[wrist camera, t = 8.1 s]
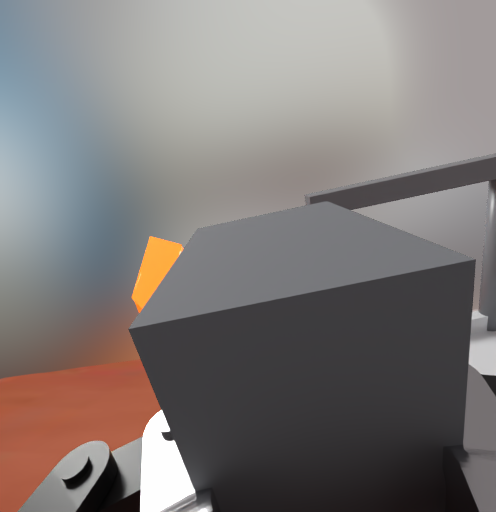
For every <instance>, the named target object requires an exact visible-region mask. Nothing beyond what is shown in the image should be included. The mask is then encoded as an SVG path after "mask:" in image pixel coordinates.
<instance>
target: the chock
mask: <svg viewBox="0 0 496 512" xmlns="http://www.w3.org/2000/svg"><path fill="white" fill-rule="evenodd" d="M475 262H476V260H475V259H473V258H471V257H468V256H466V255H463V254H461V253H458V252H456V251H453V250H451V249H448V248H446V247H443V246H440V245H438V244H435V243H433V242H430V241H428V240H425V239H423V238H420V237H417V236H415V235H412V234H410V233H407V232H405V231H402V230H399V229H397V228H394V227H392V226H389V225H387V224H384V223H381V222H379V221H377V220H374V219H371V218H369V217H366V216H364V215H361V214H359V213H356V212H353V211H351V210H349V209H346V208H343V207H341V206H338V205H336V204H333V203H331V202H328V201H325V202H320V203H316V204H311V205H306V206H302V207H297V208H292V209H287V210H283V211H279V212H273V213H269V214H264V215H260V216H255V217H250V218H245V219H241V220H237V221H232V222H227V223H222V224H217V225H213V226H208V227H203V228H198V229H197V230H196V232H195V233H194V234H193V236H192V238H191V239H190V240H189V242H188V243H187V245H186V246H185V247H184V249H183V250H182V252H181V253H180V255H179V256H178V258H177V259H176V261H175V262H174V263H173V265H172V266H171V268H170V269H169V271H168V272H167V274H166V275H165V277H164V278H163V279H162V281H161V282H160V284H159V285H158V287H157V288H156V290H155V291H154V293H153V294H152V295H151V297H150V298H149V300H148V301H147V303H146V304H145V306H144V307H143V309H142V310H141V311H140V313H139V314H138V316H137V317H136V319H135V320H134V322H133V323H132V325H131V326H130V327H129V332H130V334H131V336H132V339H133V342H134V344H135V346H136V349H137V351H138V353H139V356H140V359H141V361H142V363H143V366H144V368H145V371H146V373H147V376H148V378H149V380H150V383H151V385H152V388H153V390H154V393H155V395H156V398H157V400H158V402H159V405H160V407H161V410H162V412H163V415H164V417H165V419H166V422H167V424H168V427H169V429H170V432H171V434H172V436H173V439H174V441H175V444H176V446H177V449H178V451H179V453H180V456H181V458H182V461H183V463H184V466H185V468H186V471H187V473H188V475H189V478H190V480H191V483H192V485H193V488H194V490H195V491H199V490H203V489H207V488H211V487H212V488H213V491H214V494H215V496H216V499H217V502H218V504H219V507H220V511H221V512H445V503H446V484H445V478H444V473H443V469H442V462H443V447H444V446H454V445H462V444H463V439H464V424H465V409H466V394H467V380H468V365H469V350H470V336H471V321H472V306H473V291H474V277H475Z"/></svg>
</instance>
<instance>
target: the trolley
mask: <svg viewBox="0 0 496 512" xmlns="http://www.w3.org/2000/svg"><path fill="white" fill-rule="evenodd" d="M485 181H489V186H488V199H487V211H486V225H485V237H484V250H483V261H482V275H481V286H480V300H479V311H475V312H472V321H471V336H470V350H469V365H471V366H472V367H474V368H475V369H476V370H477V371H478V372H479V373H480V374H483V375H494V376H496V154H492V155H487V156H482V157H478V158H473V159H468V160H463V161H459V162H455V163H450V164H445V165H441V166H436V167H431V168H426V169H422V170H417V171H413V172H408V173H404V174H399V175H395V176H390V177H385V178H381V179H376V180H371V181H367V182H362V183H357V184H353V185H348V186H344V187H339V188H335V189H330V190H325V191H321V192H316V193H311V194H306V195H304V196H305V202H306V205H311V204H316V203H320V202H325V201H328V202H331V203H333V204H336V205H338V206H341V207H343V208H346V209H349V210H353V209H358V208H362V207H367V206H372V205H377V204H381V203H386V202H391V201H396V200H400V199H405V198H410V197H414V196H419V195H424V194H428V193H433V192H438V191H443V190H447V189H452V188H457V187H461V186H466V185H470V184H475V183H480V182H485Z"/></svg>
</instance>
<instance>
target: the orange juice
mask: <svg viewBox="0 0 496 512" xmlns="http://www.w3.org/2000/svg"><path fill="white" fill-rule="evenodd" d="M181 246H182V245H181V244H177V243H173V242H170V241H166V240H162V239H159V238H155V237H150V238H149V242H148V245H147V248H146V252H145V255H144V258H143V262H142V265H141V268H140V272H139V275H138V279H137V282H136V285H135V289H134V292H133V295H132V299H133V300H134V301H135V304H136V306H137V309H138V311H139V313H140V311H141V310H142V309H143V307H144V306H145V304H146V303H147V301H148V300H149V298H150V297H151V295H152V294H153V293H154V291H155V290H156V288H157V287H158V285H159V284H160V282H161V281H162V279H163V278H164V277H165V275H166V274H167V272H168V271H169V269H170V268H171V266H172V265H173V263H174V262H175V261H176V259H177V258H178V256H179V255H180V253H181V252H182V250H183V248H182V247H181Z"/></svg>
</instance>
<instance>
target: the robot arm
mask: <svg viewBox="0 0 496 512" xmlns="http://www.w3.org/2000/svg"><path fill="white" fill-rule="evenodd" d="M442 469H443V473H444V478H445V484H446V503H445V512H496V376H494V375H483V374H480V373H479V372H478V371H477V370H476V369H475V368H474V367H472V366H471V365H468V380H467V394H466V409H465V424H464V439H463V444H462V445H454V446H444V447H443V462H442ZM18 512H221V511H220V507H219V504H218V502H217V499H216V496H215V494H214V491H213V488H212V487H211V488H207V489H203V490H199V491H195V490H194V488H193V485H192V483H191V480H190V478H189V475H188V473H187V471H186V468H185V466H184V463H183V461H182V458H181V456H180V453H179V451H178V449H177V446H176V444H175V441H174V439H173V436H172V434H171V432H170V429H169V427H168V424H167V422H166V419H165V417H164V415H163V412H162V410H161V411H159V412H158V413H157V414H156V415H155V416H154V417H153V418H152V419H151V420H150V422H149V423H148V425H147V427H146V429H145V432H144V436H142V437H140V438H139V439H137V440H135V441H133V442H131V443H129V444H126V445H124V446H122V447H120V448H118V449H116V450H114V451H112V452H111V451H110V449H109V447H108V445H107V444H106V443H105V442H103V441H91V442H88V443H85V444H83V445H81V446H79V447H77V448H76V449H74V450H73V451H71V452H70V453H69V454H68V455H66V456H65V457H64V458H63V459H62V460H61V461H60V462H59V463H58V464H57V465H56V466H55V467H54V469H53V470H52V471H51V472H50V473H49V475H48V476H47V477H46V478H45V479H44V481H43V482H42V483H41V484H40V485H39V487H38V488H37V489H36V490H35V491H34V493H33V494H32V495H31V496H30V497H29V499H28V500H27V501H26V502H25V503H24V505H23V506H22V507H21V508H20V509H19V511H18Z"/></svg>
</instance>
